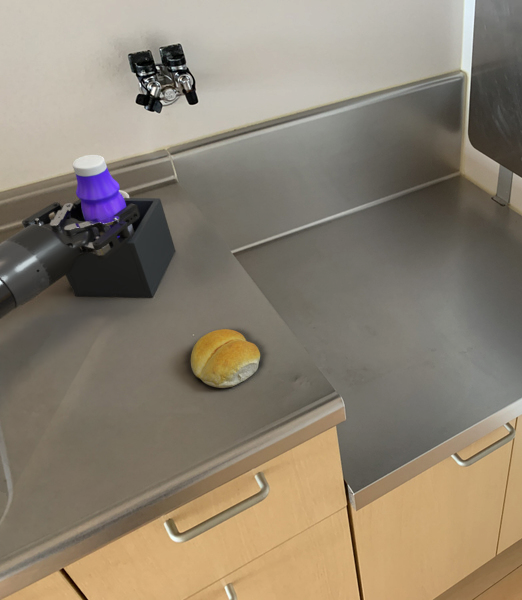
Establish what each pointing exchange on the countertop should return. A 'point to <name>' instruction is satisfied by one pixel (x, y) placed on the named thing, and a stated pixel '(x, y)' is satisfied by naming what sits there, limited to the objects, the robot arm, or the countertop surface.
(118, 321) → the countertop surface
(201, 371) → the bread roll
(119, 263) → the trash bin
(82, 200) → the bottle
